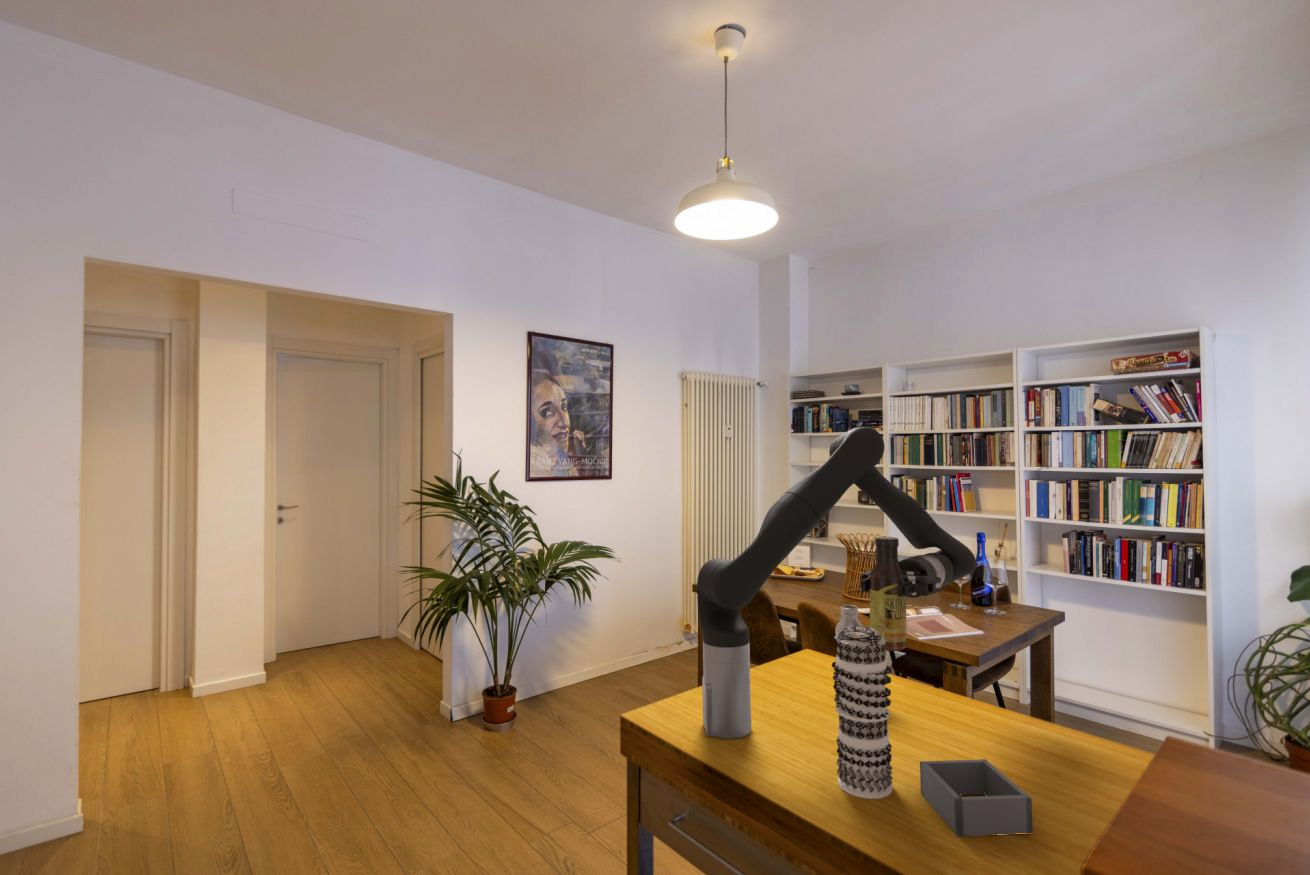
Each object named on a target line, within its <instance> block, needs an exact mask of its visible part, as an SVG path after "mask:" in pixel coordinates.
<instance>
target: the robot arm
mask: <svg viewBox="0 0 1310 875" xmlns="http://www.w3.org/2000/svg"><path fill="white" fill-rule="evenodd" d="M884 453H885V442H884V438H883V436H882V434H881V433H880V432H879V431H877V429H874V428H872V427H869V426H859V427H854V428H852V429H850V430H848V431H846V432H844V433H842V434H840V435H839V436H837V437H836V438H834V440H832V442H831V444H830V446H829V457H828V458H827V460H826V461H825V462H823V463H822V464H821V465H820V466H818V467H817V468H815V469H814V470H813V471H811V472H810V473H809V474H807V475H806V476H804V477H803V478H801V479H800V480H799V481H798V482H796V483H795V484H794V485H793V486H791V487H790V488H789V489H787V490H786V491H785V492H784V493H783V494H782V495H781V496H780V497H779V498H778V500H776V501H775V502H774V503H773V505H772V506H771V507H770V508H769V509H768V510H767V513H766V514H765V517H764V519H763V521H762V524H761V526H760V528H759V532H758V534H757V535H756V537H755V538H754V540H753V541H752V542H751V543H750V545H748V547H746V549H744V550H743V551H742V552H741V553H739V555H737V557H735V558H734V559H733V560H730V559H726V558H722V557H721V558H720V557H718V558H717V557H715V558H712V559H710V560H707V561H706V562H705V563H704V564H703V565H702V566H701V568H700V570H699V571H698V576H697V582H696V593H697V594H696V595H697V598H696V599H697V611H698V612H697V615H698V617H697V618H698V624H699V627H700V630H701V632H702V651H703V652H702V661H703V666H702V668H703V676H702V678H701V679H702V681H701V682H702V687H701V688H702V724H703V727H704V728H705V729H704V732H705V736H707V737H715V738H720V739H730V740H731V739H739V738H743V737H746V736H748V735H749V734H750V733H751V732H752V702H751V692H752V691H751V657H750V656H751V654H750V653H751V651H750V647H751V646H750V629H749V627H748V625H747V624H746V622H745V621H744V619H743V617H742V615H741V610H740V609H742V608H744V607H745V606H746V605H748V604H749V603H750V602H751V601H752V600H753V598H754V597H755V596H756V595H757V593H759V591H760V590H761V588H762V587H763V586H764V584H765V583H766V582H767V580H768V579H770V578H769V577H770V576H771V574H773V573H774V572H775V570H776V568H777V567H779V565H780V564H781V563H782V562H784V560H785V559H786V558H787V557H788V556H789V555H790V554H791V552H793V550H795V548H796V547H797V546H799V544H800V543H801V542H802V541H803V540H804V539H805V538H806V537H807V536H808V535H809V534H810V533H811V532H812V531H813V530H814V528H816V527H817V526H818V525H819V523H821V521H822V520H823V519H824V518H825V516H826V515H827V514H828V513H829V512H830V511H831V510H832V509H833V507H834V506H835V505H837V503H838V501H840V499H841V498H842V497H843V496H844V494H846V492H847V491H848V490H849V489H850V488H851V486H852V485H855V486H856V487H857V488H858V489H859V490H860V491H861V492H862V493H863V494H865V495H866V496H867V497H868V498H869V499H870V500H871V501H872V502H873V503H874V504H876V506H877V507H879V509H880V510H881V511H882V512H883V513H884V514H885V515H886V516H887V517H888V518H889V520H890V521H891V522H892V523H893V524H894V526H896V528H897V529H898V530H899V532H900V533H901V534H902V536H903V537H904V538H906V540H907V541H908V543H909V544H910V545H911V546H912V548H913V547H914V549H917V550H925V549H929V548H937V549H939V550H937V551H935V552H927V553H925V554H917V555H913V556H910V557H906V558H904V559H900V560H898V563H899V566H900V569H901V572H902V575H903V578H904V581H905V582H903V583H901V584H898V596H899V597H905V596H906V598H910V599H917V598H920V597H926V596H931V595H935V594H937V593H941V592H942V587H945V586H948V585H950V584H951V583H953V582H955V581H958V580H960V579H962V578H964V577H966V576H968V575H971V574H973V573H974V572H975V571H976V568H977V560H976V557H975V555H974V553H973V551H971V549H970V548H969V547H967V545H965V544H964V543H962V542H961V541H960V540H958V539H957V538H955V537H954V536H953V535H951V534H950V533H948V532H947V531H946V530H944V529H943V528H942V527H941V526H940V525H938V523H937V521H935V519H934V518H932V516H931V515H930V514H929V513H928V512H927V510H926V509H925V508H924V507H923V506H922V505H921V504H920V502H918V501H917V500H916V499H915V498H913V497H912V496H911V495H910V494H908V493H907V492H905V491H903V490H902V489H900V487H897V486H896V485H895V484H894V483H892V482H891V481H890V480H888V479H887V478H886V477H885V476H884V475H883V474H882V473H881V472H880V471H879V470H878V468H877V467H876V466H877V465H878V464H879V463H880V462H881V459H882V458H883V456H884ZM871 571H872V569H869V570H867V571H865V572H862V573H861V574H860V590H861V592H863V593H869V592H870V574H871Z"/></svg>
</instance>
